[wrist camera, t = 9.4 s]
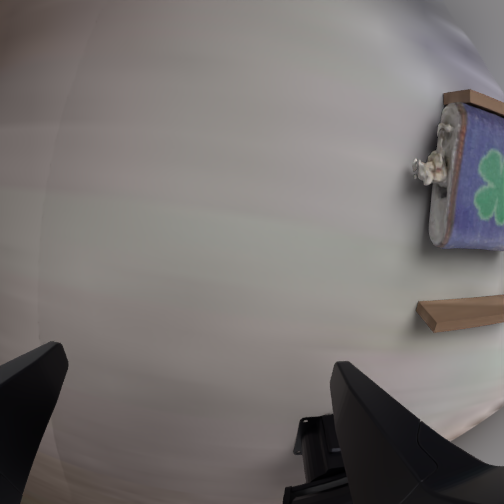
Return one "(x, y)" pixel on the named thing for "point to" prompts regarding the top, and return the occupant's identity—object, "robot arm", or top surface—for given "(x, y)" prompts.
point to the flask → (466, 179)
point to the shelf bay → (466, 309)
